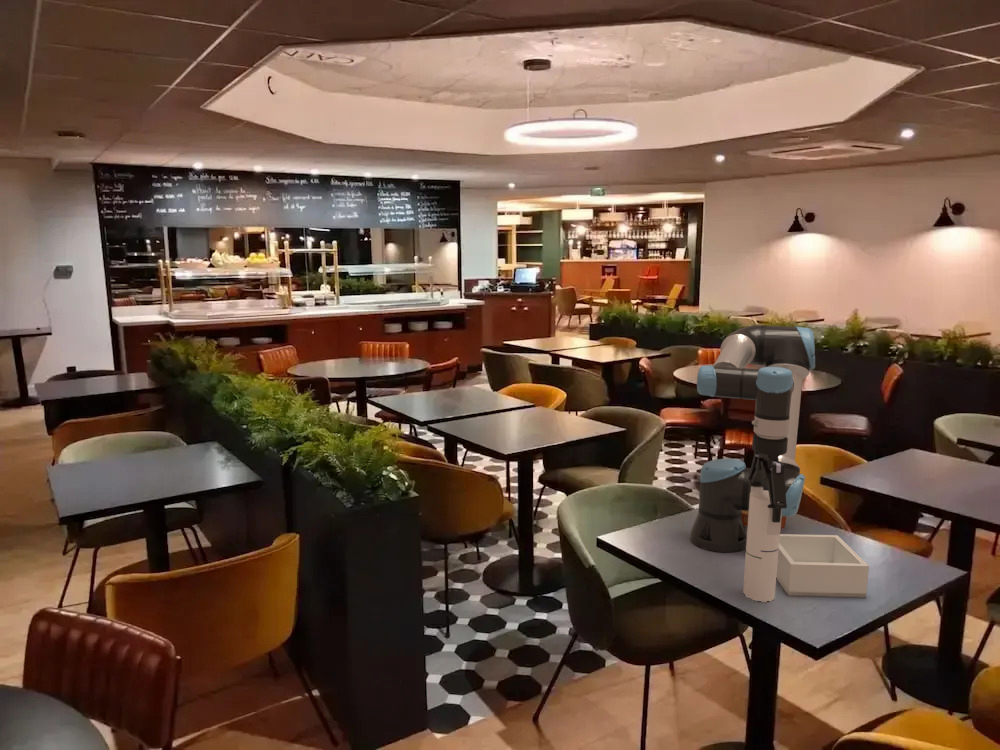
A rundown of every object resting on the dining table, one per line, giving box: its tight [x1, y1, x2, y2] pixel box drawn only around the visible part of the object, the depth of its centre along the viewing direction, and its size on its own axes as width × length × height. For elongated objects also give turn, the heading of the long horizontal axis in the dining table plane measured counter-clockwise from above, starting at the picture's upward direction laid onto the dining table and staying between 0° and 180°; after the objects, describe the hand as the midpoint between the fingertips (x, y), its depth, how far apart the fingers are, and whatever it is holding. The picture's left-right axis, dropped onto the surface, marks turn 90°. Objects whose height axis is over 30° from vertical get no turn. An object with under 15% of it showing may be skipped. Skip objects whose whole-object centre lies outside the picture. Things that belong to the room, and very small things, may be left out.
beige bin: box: [776, 533, 870, 599], centre depth 179 cm, size 18×18×8 cm
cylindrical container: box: [742, 490, 780, 603], centre depth 170 cm, size 7×7×25 cm
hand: (763, 523), depth 168 cm, fingers open, 13 cm apart
